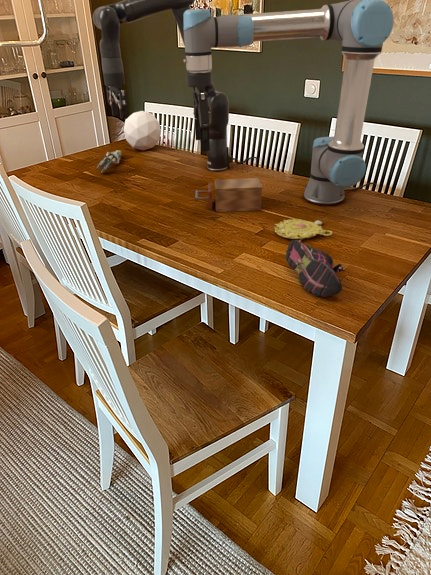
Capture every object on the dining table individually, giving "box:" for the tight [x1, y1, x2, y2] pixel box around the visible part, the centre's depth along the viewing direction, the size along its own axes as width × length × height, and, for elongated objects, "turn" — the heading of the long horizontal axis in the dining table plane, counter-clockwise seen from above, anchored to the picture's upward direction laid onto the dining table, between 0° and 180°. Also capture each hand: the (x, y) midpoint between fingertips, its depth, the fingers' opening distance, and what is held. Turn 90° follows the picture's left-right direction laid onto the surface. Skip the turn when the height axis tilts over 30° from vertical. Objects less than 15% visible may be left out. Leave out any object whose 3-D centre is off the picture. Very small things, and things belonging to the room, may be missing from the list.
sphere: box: [123, 110, 162, 151], centre depth 233 cm, size 19×20×20 cm
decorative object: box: [273, 218, 333, 242], centre depth 145 cm, size 21×2×20 cm
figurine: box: [96, 150, 123, 174], centre depth 213 cm, size 7×8×30 cm
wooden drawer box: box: [214, 177, 263, 213], centre depth 165 cm, size 17×10×9 cm, turn 92°
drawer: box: [194, 182, 213, 210], centre depth 165 cm, size 20×9×7 cm, turn 92°
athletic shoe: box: [285, 239, 346, 298], centre depth 119 cm, size 11×22×12 cm
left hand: (119, 117), depth 171 cm, fingers open, 8 cm apart
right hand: (202, 145), depth 141 cm, fingers open, 13 cm apart
